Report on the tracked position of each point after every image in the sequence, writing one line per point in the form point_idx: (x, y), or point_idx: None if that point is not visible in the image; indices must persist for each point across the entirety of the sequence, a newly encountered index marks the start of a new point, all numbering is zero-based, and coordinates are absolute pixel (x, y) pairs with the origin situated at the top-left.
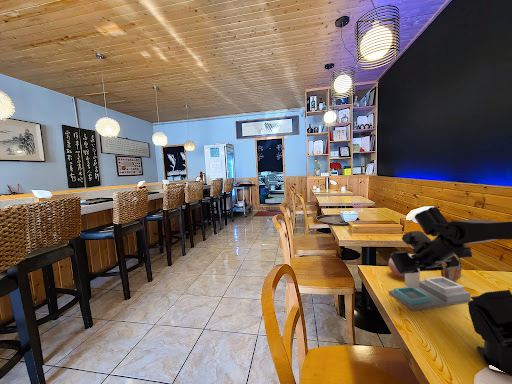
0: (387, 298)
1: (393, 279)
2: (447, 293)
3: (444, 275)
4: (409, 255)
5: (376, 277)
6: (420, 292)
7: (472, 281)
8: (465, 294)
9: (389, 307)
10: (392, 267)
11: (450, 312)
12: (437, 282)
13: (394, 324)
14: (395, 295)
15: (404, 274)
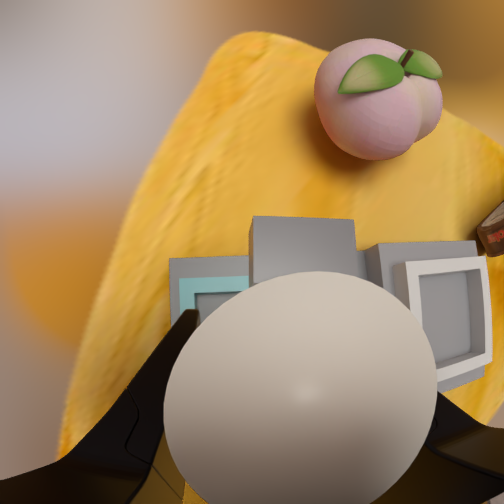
0: (135, 300)
1: (302, 143)
2: None
3: (497, 238)
4: (291, 373)
5: (231, 110)
6: None
7: None
8: (464, 382)
9: (96, 367)
10: (317, 99)
11: None
12: (447, 274)
13: (59, 451)
14: (171, 309)
15: (355, 156)
